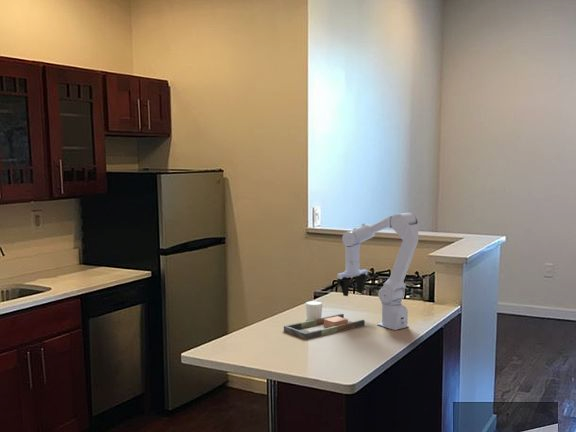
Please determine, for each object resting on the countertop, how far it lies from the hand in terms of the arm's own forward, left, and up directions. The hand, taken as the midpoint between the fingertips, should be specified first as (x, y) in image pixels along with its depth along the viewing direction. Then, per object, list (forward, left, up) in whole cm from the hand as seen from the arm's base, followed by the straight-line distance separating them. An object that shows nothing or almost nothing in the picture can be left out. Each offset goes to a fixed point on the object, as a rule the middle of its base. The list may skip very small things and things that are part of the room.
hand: (352, 294), depth 245 cm
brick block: (-5, +14, -10) cm, 17 cm away
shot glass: (+7, +15, -10) cm, 19 cm away
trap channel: (-5, +19, -10) cm, 21 cm away
